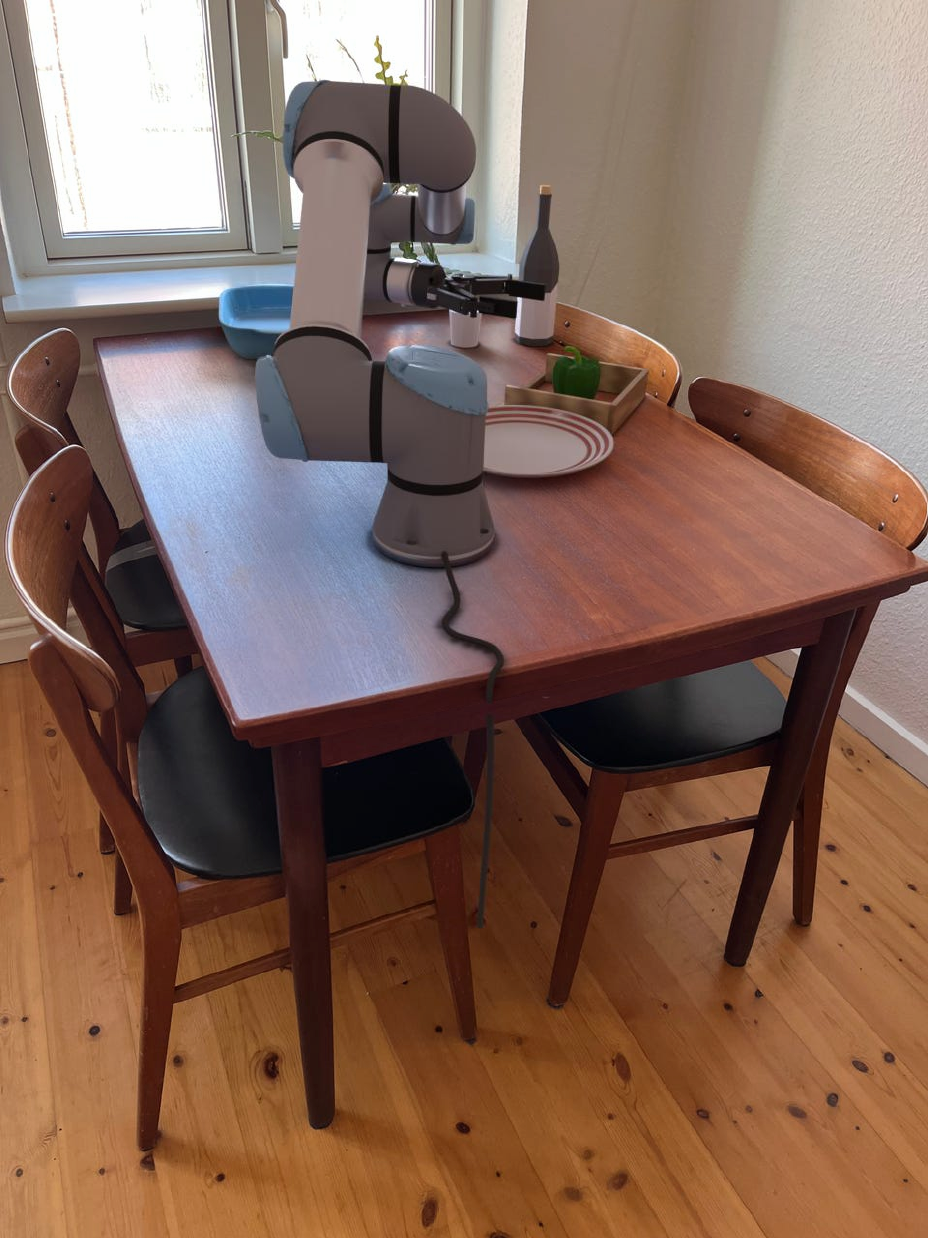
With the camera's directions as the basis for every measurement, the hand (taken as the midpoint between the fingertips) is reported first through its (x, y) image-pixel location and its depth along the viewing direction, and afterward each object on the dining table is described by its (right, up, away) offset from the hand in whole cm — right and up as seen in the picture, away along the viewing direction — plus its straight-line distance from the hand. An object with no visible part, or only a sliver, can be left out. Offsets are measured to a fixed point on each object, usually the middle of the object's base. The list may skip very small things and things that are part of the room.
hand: (531, 300), depth 158 cm
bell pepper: (+8, -16, +6) cm, 19 cm away
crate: (+8, -16, +6) cm, 19 cm away
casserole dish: (-49, +3, +32) cm, 59 cm away
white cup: (-11, +3, +35) cm, 37 cm away
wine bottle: (+3, +5, +39) cm, 40 cm away
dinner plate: (-3, -29, -15) cm, 32 cm away
